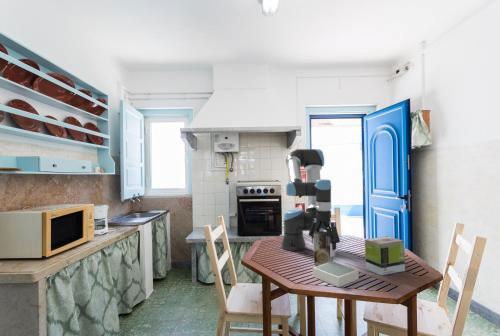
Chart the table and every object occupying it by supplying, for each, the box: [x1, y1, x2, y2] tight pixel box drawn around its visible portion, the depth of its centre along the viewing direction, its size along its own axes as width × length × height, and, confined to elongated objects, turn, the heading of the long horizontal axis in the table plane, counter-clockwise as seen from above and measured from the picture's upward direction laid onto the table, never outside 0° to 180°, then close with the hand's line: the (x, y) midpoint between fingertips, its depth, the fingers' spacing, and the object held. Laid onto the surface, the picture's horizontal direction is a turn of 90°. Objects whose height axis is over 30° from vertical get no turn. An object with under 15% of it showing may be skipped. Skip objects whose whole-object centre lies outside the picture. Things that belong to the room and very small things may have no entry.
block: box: [312, 260, 360, 288], centre depth 123 cm, size 14×14×4 cm
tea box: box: [364, 236, 406, 276], centre depth 132 cm, size 15×10×15 cm
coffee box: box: [313, 230, 334, 266], centre depth 140 cm, size 9×6×16 cm
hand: (323, 253), depth 140 cm, fingers closed on coffee box, 11 cm apart
